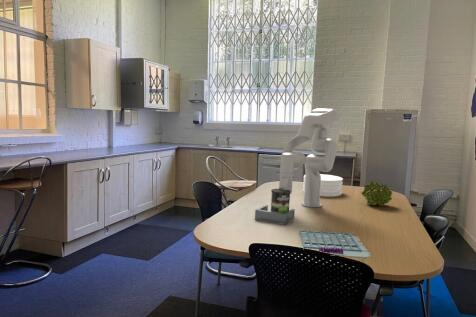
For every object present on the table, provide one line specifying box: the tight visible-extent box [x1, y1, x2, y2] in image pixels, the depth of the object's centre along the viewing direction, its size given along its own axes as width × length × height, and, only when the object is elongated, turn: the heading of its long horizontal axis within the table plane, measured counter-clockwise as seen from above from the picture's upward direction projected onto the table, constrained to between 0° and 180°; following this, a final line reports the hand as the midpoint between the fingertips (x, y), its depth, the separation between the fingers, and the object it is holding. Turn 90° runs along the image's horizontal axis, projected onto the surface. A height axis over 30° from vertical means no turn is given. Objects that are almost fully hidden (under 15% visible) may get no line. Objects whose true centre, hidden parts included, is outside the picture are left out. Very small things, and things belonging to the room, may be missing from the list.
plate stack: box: [302, 173, 344, 197], centre depth 267 cm, size 28×28×12 cm
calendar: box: [299, 229, 373, 259], centre depth 156 cm, size 27×28×2 cm
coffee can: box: [270, 188, 291, 214], centre depth 198 cm, size 10×10×14 cm
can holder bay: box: [254, 204, 296, 225], centre depth 192 cm, size 14×17×5 cm
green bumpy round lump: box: [360, 180, 393, 207], centre depth 231 cm, size 18×16×16 cm
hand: (285, 207), depth 205 cm, fingers closed
